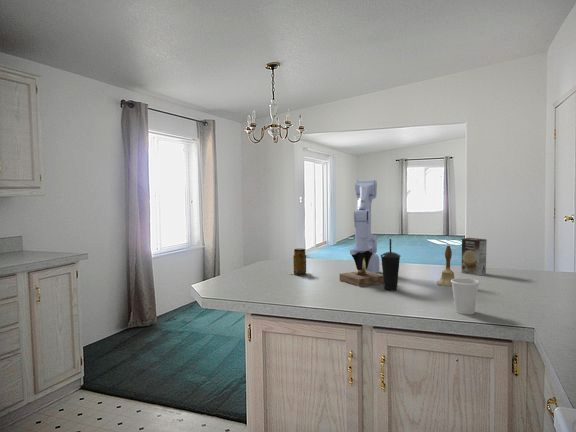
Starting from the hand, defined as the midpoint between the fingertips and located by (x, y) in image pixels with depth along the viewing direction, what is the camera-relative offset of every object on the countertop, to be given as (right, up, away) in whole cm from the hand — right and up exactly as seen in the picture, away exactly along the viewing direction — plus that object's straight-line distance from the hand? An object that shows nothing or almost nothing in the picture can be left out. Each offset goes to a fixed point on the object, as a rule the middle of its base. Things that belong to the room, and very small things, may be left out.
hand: (362, 269), depth 184 cm
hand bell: (+34, -5, -8) cm, 35 cm away
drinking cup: (+8, -6, -16) cm, 19 cm away
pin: (0, -2, 0) cm, 2 cm away
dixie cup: (+24, -8, -48) cm, 54 cm away
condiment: (-26, -5, +20) cm, 33 cm away
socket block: (0, -5, 0) cm, 5 cm away
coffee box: (+54, -4, +14) cm, 56 cm away
